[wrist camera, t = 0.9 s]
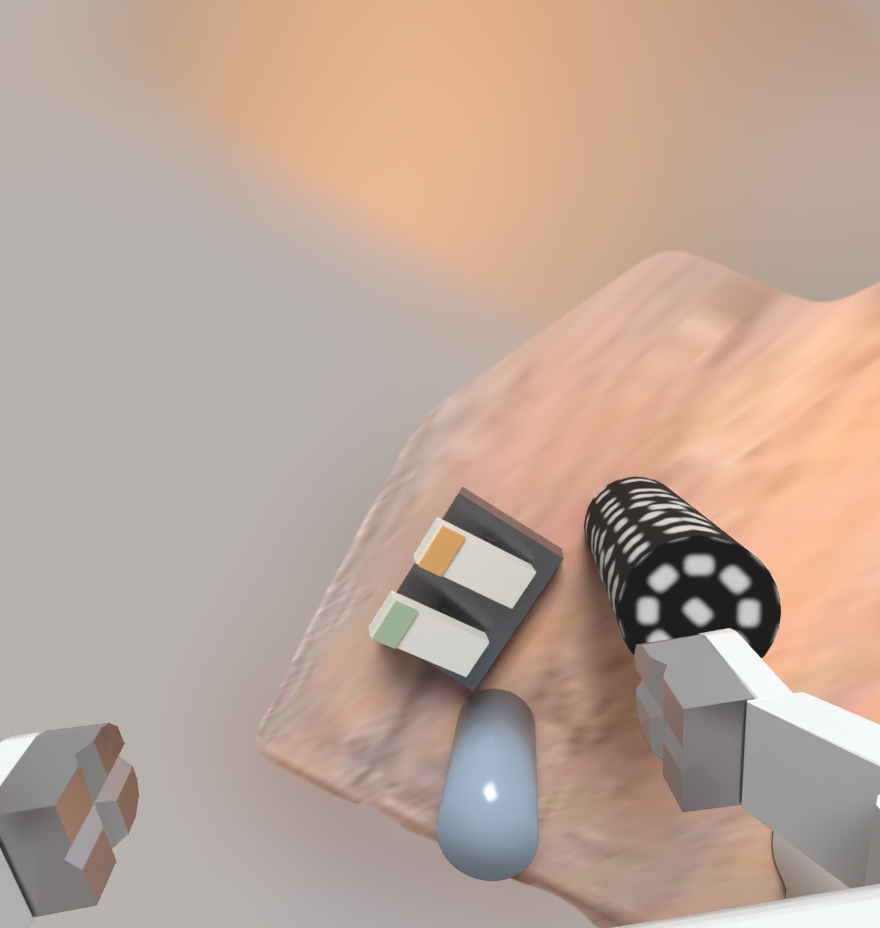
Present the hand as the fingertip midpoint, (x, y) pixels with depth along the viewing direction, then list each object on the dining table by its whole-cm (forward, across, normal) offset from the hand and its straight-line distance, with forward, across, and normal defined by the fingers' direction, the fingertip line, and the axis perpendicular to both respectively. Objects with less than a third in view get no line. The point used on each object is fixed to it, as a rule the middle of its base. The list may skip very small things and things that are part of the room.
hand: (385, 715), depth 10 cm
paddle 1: (+36, +4, -17) cm, 40 cm away
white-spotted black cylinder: (+40, +18, -18) cm, 47 cm away
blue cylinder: (+38, +5, -35) cm, 52 cm away
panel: (+41, +4, -22) cm, 47 cm away
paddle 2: (+36, 0, -23) cm, 42 cm away
